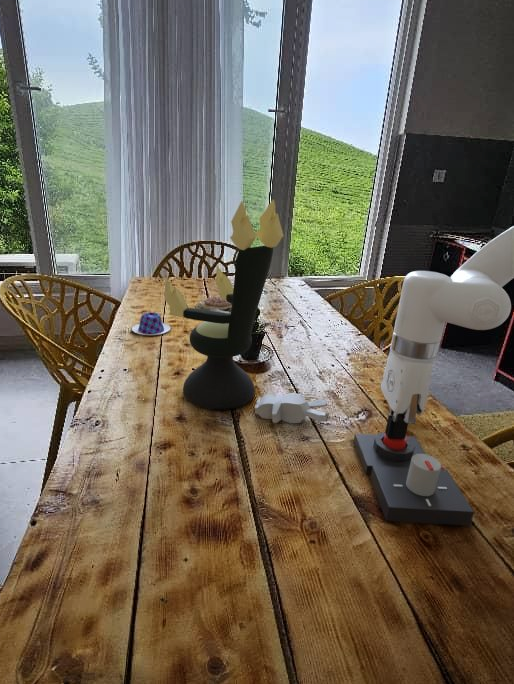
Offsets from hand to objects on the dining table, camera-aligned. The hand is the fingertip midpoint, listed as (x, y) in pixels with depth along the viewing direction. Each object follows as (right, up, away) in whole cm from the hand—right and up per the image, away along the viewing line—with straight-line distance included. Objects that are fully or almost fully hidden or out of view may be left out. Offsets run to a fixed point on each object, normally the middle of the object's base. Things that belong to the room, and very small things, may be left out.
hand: (394, 436), depth 82 cm
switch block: (0, -5, +2) cm, 5 cm away
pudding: (-56, +21, +59) cm, 84 cm away
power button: (0, -2, +1) cm, 2 cm away
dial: (+1, -6, -9) cm, 11 cm away
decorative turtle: (-36, +29, +81) cm, 94 cm away
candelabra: (-31, +4, +22) cm, 39 cm away
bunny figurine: (-18, +1, +14) cm, 23 cm away
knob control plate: (+1, -9, -8) cm, 12 cm away
